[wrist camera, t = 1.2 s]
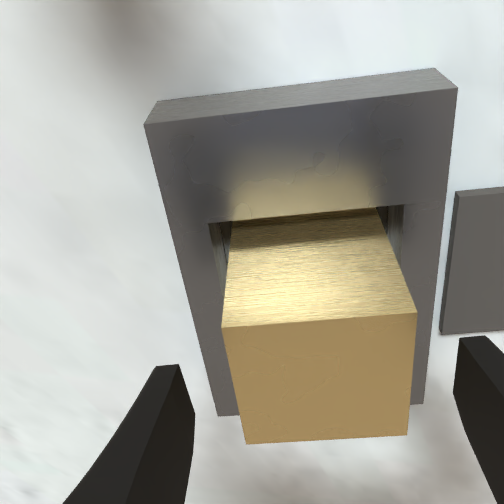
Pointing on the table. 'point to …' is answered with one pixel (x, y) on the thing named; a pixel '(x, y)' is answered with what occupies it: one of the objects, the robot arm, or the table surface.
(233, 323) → the block
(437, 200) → the gray rectangular frame
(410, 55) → the table surface
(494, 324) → the flat gray plate
